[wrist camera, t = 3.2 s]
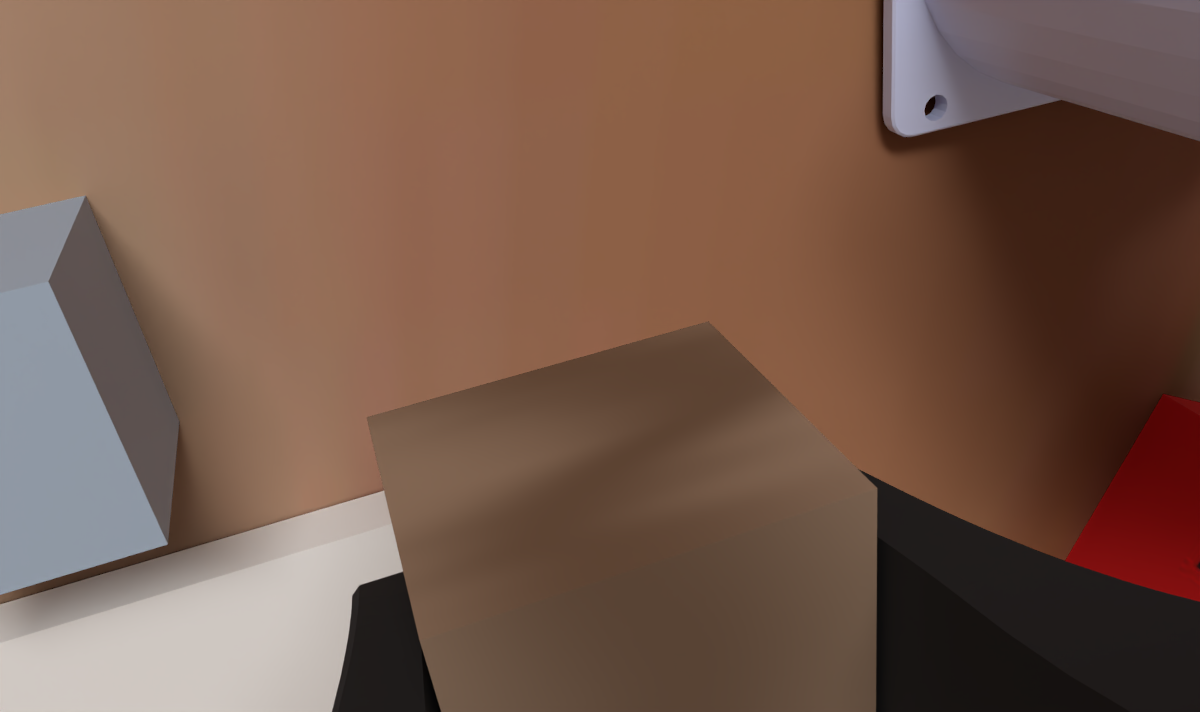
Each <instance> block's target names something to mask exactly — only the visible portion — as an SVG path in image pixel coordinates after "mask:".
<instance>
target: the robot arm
mask: <svg viewBox="0 0 1200 712" xmlns="http://www.w3.org/2000/svg"><path fill="white" fill-rule="evenodd" d="M933 96H935V100H936V102H935V106H934V109H933V110H932V111H931V113H930V114H928V115H926V116H925V111H924V110H925V106H926V103H927V102H928V101H929V99H930V98H931V97H933ZM1059 100H1064V101H1067V102H1070V103H1074V104H1077V105H1080V106H1084V107H1087V108H1091V109H1094V110H1097V111H1101V112H1104V113H1107V114H1111V115H1114V116H1117V117H1121V118H1124V119H1127V120H1131V121H1134V122H1137V123H1141V124H1144V125H1147V126H1151V127H1154V128H1157V129H1161V130H1164V131H1167V132H1171V133H1174V134H1177V135H1181V136H1184V137H1187V138H1191V139H1194V140H1197V141H1200V0H884V16H883V119H884V124H885V125H886V126H887V128H888V129H889V130H890V131H892V132H894V133H896V134H898V135H901V136H903V137H914V136H918V135H922V134H926V133H930V132H934V131H938V130H942V129H946V128H950V127H954V126H958V125H962V124H966V123H970V122H974V121H978V120H982V119H986V118H990V117H994V116H998V115H1002V114H1006V113H1010V112H1014V111H1019V110H1023V109H1027V108H1031V107H1035V106H1039V105H1043V104H1047V103H1051V102H1055V101H1059ZM858 470H859V469H858ZM859 471H860V472H861V473H862V474H863V475H864V476H865V477H866V478H867V479H868V480H869V481H870V482H872V483H873V484H874V485H875V486H876V487H877V624H876V712H1200V602H1199V601H1195V600H1191V599H1188V598H1184V597H1180V596H1176V595H1172V594H1168V593H1165V592H1161V591H1157V590H1154V589H1150V588H1147V587H1144V586H1140V585H1137V584H1133V583H1130V582H1127V581H1123V580H1120V579H1117V578H1114V577H1111V576H1108V575H1105V574H1102V573H1099V572H1096V571H1093V570H1090V569H1087V568H1084V567H1081V566H1078V565H1075V564H1072V563H1069V562H1066V561H1064V560H1061V559H1058V558H1055V557H1053V556H1050V555H1047V554H1045V553H1042V552H1039V551H1037V550H1034V549H1032V548H1029V547H1027V546H1024V545H1022V544H1019V543H1017V542H1014V541H1012V540H1010V539H1007V538H1005V537H1002V536H1000V535H997V534H995V533H992V532H990V531H988V530H985V529H983V528H981V527H978V526H976V525H974V524H972V523H969V522H967V521H965V520H963V519H960V518H958V517H956V516H954V515H952V514H949V513H947V512H945V511H943V510H941V509H939V508H936V507H934V506H932V505H930V504H928V503H926V502H924V501H922V500H920V499H917V498H915V497H913V496H911V495H909V494H907V493H905V492H903V491H901V490H899V489H897V488H895V487H893V486H891V485H889V484H887V483H885V482H883V481H881V480H879V479H877V478H875V477H873V476H871V475H869V474H867V473H865V472H863V471H861V470H859ZM332 712H441V709H440V706H439V703H438V699H437V696H436V693H435V690H434V686H433V683H432V680H431V676H430V673H429V670H428V667H427V663H426V660H425V657H424V654H423V650H422V647H421V644H420V640H419V636H418V632H417V628H416V623H415V619H414V615H413V611H412V607H411V602H410V598H409V594H408V590H407V586H406V581H405V577H404V573H403V572H400V573H397V574H394V575H390V576H387V577H384V578H381V579H378V580H374V581H371V582H368V583H365V584H362V585H359V587H358V588H357V589H356V591H355V592H354V594H353V595H352V609H351V619H350V627H349V634H348V641H347V646H346V652H345V657H344V662H343V667H342V672H341V677H340V681H339V685H338V689H337V693H336V697H335V701H334V705H333V709H332Z"/></svg>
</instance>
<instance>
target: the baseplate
mask: <svg viewBox="0 0 1200 712" xmlns="http://www.w3.org/2000/svg"><path fill="white" fill-rule="evenodd" d="M400 572H403V569H402V564H401V560H400V556H399V552H398V548H397V543H396V539H395V535H394V531H393V527H392V522H391V518H390V514H389V510H388V506H387V501H386V497H385V493H384V491H381V492H378V493H375V494H371V495H368V496H364V497H361V498H358V499H354V500H351V501H348V502H344V503H341V504H337V505H334V506H331V507H327V508H324V509H321V510H317V511H314V512H310V513H307V514H304V515H300V516H297V517H294V518H290V519H287V520H283V521H280V522H277V523H273V524H270V525H267V526H263V527H260V528H256V529H253V530H250V531H246V532H243V533H240V534H236V535H233V536H229V537H226V538H223V539H219V540H216V541H213V542H209V543H206V544H202V545H199V546H196V547H192V548H189V549H186V550H182V551H179V552H175V553H172V554H169V555H165V556H162V557H159V558H155V559H152V560H148V561H145V562H142V563H138V564H135V565H132V566H128V567H125V568H121V569H118V570H115V571H111V572H108V573H105V574H101V575H98V576H94V577H91V578H88V579H84V580H81V581H78V582H74V583H71V584H67V585H64V586H61V587H57V588H54V589H51V590H47V591H44V592H40V593H37V594H34V595H30V596H27V597H24V598H20V599H17V600H13V601H10V602H7V603H3V604H0V712H332V709H333V705H334V701H335V697H336V693H337V689H338V685H339V681H340V677H341V672H342V667H343V662H344V657H345V652H346V646H347V641H348V634H349V627H350V619H351V609H352V595H353V594H354V592H355V591H356V589H357V588H358V587H359V585H362V584H365V583H368V582H371V581H374V580H378V579H381V578H384V577H387V576H390V575H394V574H397V573H400Z"/></svg>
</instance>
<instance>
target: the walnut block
mask: <svg viewBox="0 0 1200 712" xmlns="http://www.w3.org/2000/svg"><path fill="white" fill-rule="evenodd" d="M367 421H368V425H369V430H370V434H371V438H372V442H373V447H374V451H375V455H376V459H377V463H378V468H379V472H380V476H381V480H382V484H383V489H384V493H385V497H386V501H387V506H388V510H389V514H390V518H391V522H392V527H393V531H394V535H395V539H396V543H397V548H398V552H399V556H400V560H401V564H402V569H403V573H404V577H405V581H406V586H407V590H408V594H409V598H410V602H411V607H412V611H413V615H414V619H415V623H416V628H417V632H418V636H419V640H420V644H421V647H422V650H423V654H424V657H425V660H426V663H427V667H428V670H429V673H430V676H431V680H432V683H433V686H434V690H435V693H436V696H437V699H438V703H439V706H440V709H441V712H876V624H877V487H876V486H875V485H874V484H873V483H872V482H870V481H869V480H868V479H867V478H866V477H865V476H864V475H863V474H862V473H861V472H860V471H859V470H858V469H857V468H856V467H855V466H854V465H853V464H852V463H851V462H850V461H849V460H848V459H847V458H846V457H845V456H844V455H843V454H842V453H841V452H840V451H839V450H838V449H837V448H836V447H835V446H834V445H833V444H832V443H831V442H830V441H829V440H828V439H827V438H826V437H825V436H824V435H823V434H822V433H821V432H820V431H819V430H818V429H817V428H816V427H815V426H814V425H813V424H812V423H811V422H810V421H809V420H808V419H807V418H806V417H805V416H804V415H803V414H802V413H801V412H800V411H799V410H798V409H797V408H796V407H795V406H794V405H793V404H791V403H790V402H789V401H788V400H787V399H786V398H785V397H784V396H783V395H782V394H781V393H780V392H779V391H778V390H777V389H776V388H775V387H774V386H773V385H772V384H771V383H770V382H769V381H768V380H767V379H766V378H765V377H764V376H763V375H762V374H761V373H760V372H759V371H758V370H757V369H756V368H755V367H754V366H753V365H752V364H751V363H750V362H749V361H748V360H747V359H746V358H745V357H744V356H743V355H742V354H741V353H740V352H739V351H738V350H737V349H736V348H735V347H734V346H733V345H732V344H731V343H730V342H729V341H728V340H727V339H726V338H725V337H724V336H723V335H722V334H721V333H720V332H719V331H718V330H717V329H716V328H715V327H713V326H712V325H711V324H710V323H709V322H705V323H701V324H698V325H694V326H691V327H687V328H683V329H680V330H676V331H673V332H669V333H666V334H662V335H658V336H655V337H651V338H648V339H644V340H641V341H637V342H633V343H630V344H626V345H623V346H619V347H616V348H612V349H609V350H605V351H601V352H598V353H594V354H591V355H587V356H584V357H580V358H576V359H573V360H569V361H566V362H562V363H559V364H555V365H552V366H548V367H544V368H541V369H537V370H534V371H530V372H527V373H523V374H519V375H516V376H512V377H509V378H505V379H502V380H498V381H495V382H491V383H487V384H484V385H480V386H477V387H473V388H470V389H466V390H462V391H459V392H455V393H452V394H448V395H445V396H441V397H438V398H434V399H430V400H427V401H423V402H420V403H416V404H413V405H409V406H405V407H402V408H398V409H395V410H391V411H388V412H384V413H380V414H377V415H373V416H370V417H367Z"/></svg>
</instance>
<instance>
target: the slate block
mask: <svg viewBox="0 0 1200 712" xmlns="http://www.w3.org/2000/svg"><path fill="white" fill-rule="evenodd" d="M178 432H179V419H178V417H177V415H176V412H175V410H174V407H173V405H172V403H171V400H170V398H169V395H168V393H167V391H166V388H165V386H164V383H163V381H162V379H161V376H160V374H159V371H158V369H157V367H156V364H155V362H154V359H153V357H152V354H151V352H150V350H149V347H148V345H147V342H146V340H145V338H144V335H143V333H142V330H141V328H140V326H139V323H138V321H137V318H136V316H135V314H134V311H133V309H132V306H131V304H130V301H129V299H128V297H127V294H126V292H125V289H124V287H123V285H122V282H121V280H120V277H119V275H118V273H117V270H116V268H115V265H114V263H113V261H112V258H111V256H110V253H109V251H108V249H107V246H106V244H105V241H104V239H103V236H102V234H101V232H100V229H99V227H98V224H97V222H96V220H95V217H94V215H93V212H92V210H91V208H90V205H89V203H88V200H87V198H86V196H81V197H77V198H72V199H68V200H63V201H59V202H54V203H50V204H45V205H41V206H36V207H32V208H27V209H23V210H18V211H14V212H9V213H5V214H0V595H1V594H4V593H8V592H11V591H14V590H18V589H21V588H24V587H28V586H31V585H34V584H38V583H41V582H44V581H48V580H51V579H54V578H58V577H61V576H64V575H68V574H71V573H74V572H78V571H81V570H84V569H88V568H91V567H94V566H98V565H101V564H104V563H108V562H111V561H114V560H118V559H121V558H124V557H128V556H131V555H134V554H138V553H141V552H144V551H148V550H151V549H154V548H158V547H161V546H164V545H168V538H169V527H170V516H171V506H172V495H173V485H174V474H175V463H176V453H177V442H178Z"/></svg>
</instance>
